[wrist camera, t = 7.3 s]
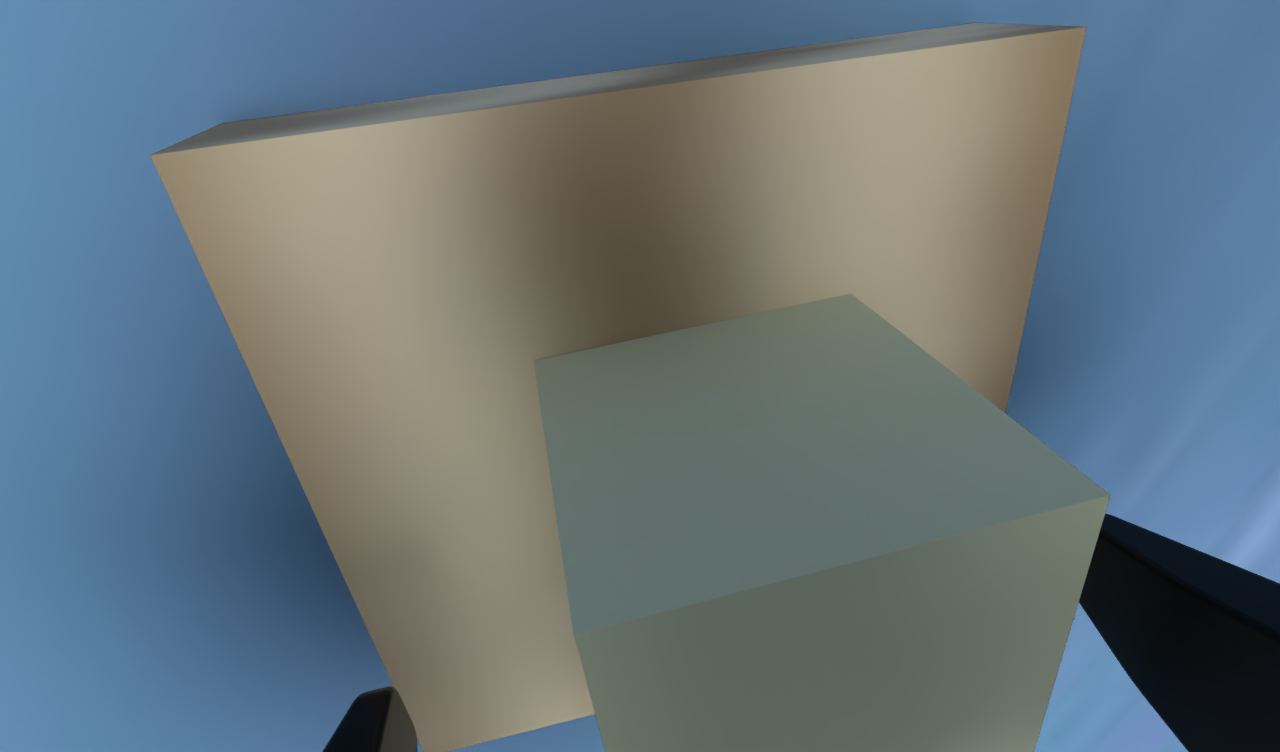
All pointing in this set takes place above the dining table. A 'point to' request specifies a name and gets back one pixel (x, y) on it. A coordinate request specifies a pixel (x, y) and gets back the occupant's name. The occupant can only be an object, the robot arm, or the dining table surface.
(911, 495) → the cube
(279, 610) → the dining table surface
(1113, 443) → the dining table surface
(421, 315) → the base slab
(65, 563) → the dining table surface
